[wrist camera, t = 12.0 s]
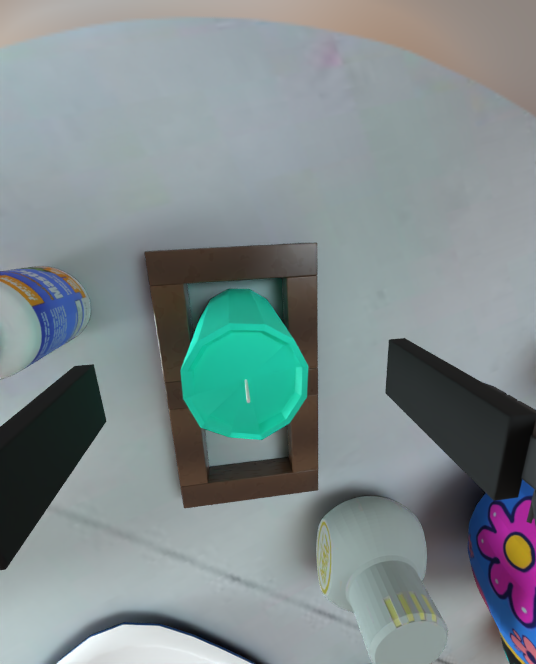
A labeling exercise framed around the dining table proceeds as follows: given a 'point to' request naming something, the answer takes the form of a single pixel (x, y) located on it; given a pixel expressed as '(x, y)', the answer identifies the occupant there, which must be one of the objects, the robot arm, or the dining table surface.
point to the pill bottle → (38, 314)
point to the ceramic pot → (507, 569)
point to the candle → (243, 368)
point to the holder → (174, 340)
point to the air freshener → (381, 578)
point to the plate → (148, 647)
